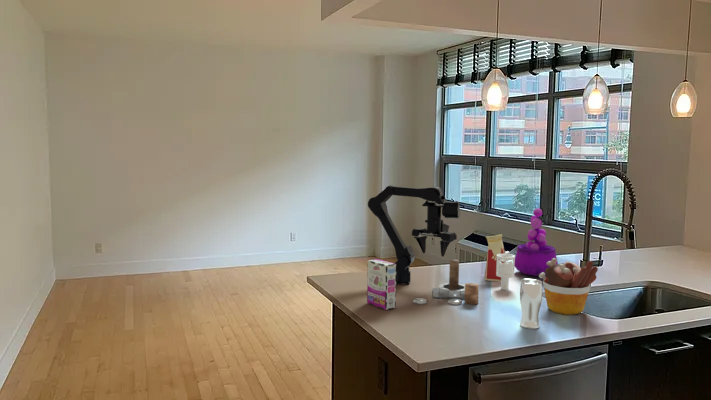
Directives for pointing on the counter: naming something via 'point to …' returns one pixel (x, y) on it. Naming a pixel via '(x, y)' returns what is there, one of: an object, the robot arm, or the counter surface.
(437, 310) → the counter surface
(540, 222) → the decorative plant
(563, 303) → the bucket of meat
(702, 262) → the counter surface
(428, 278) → the counter surface
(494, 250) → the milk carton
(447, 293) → the octagonal socket plate
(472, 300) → the cherry stub
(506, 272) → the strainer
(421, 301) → the disc
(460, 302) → the disc
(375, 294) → the candy bar box
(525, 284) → the beer glass
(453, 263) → the walnut peg
